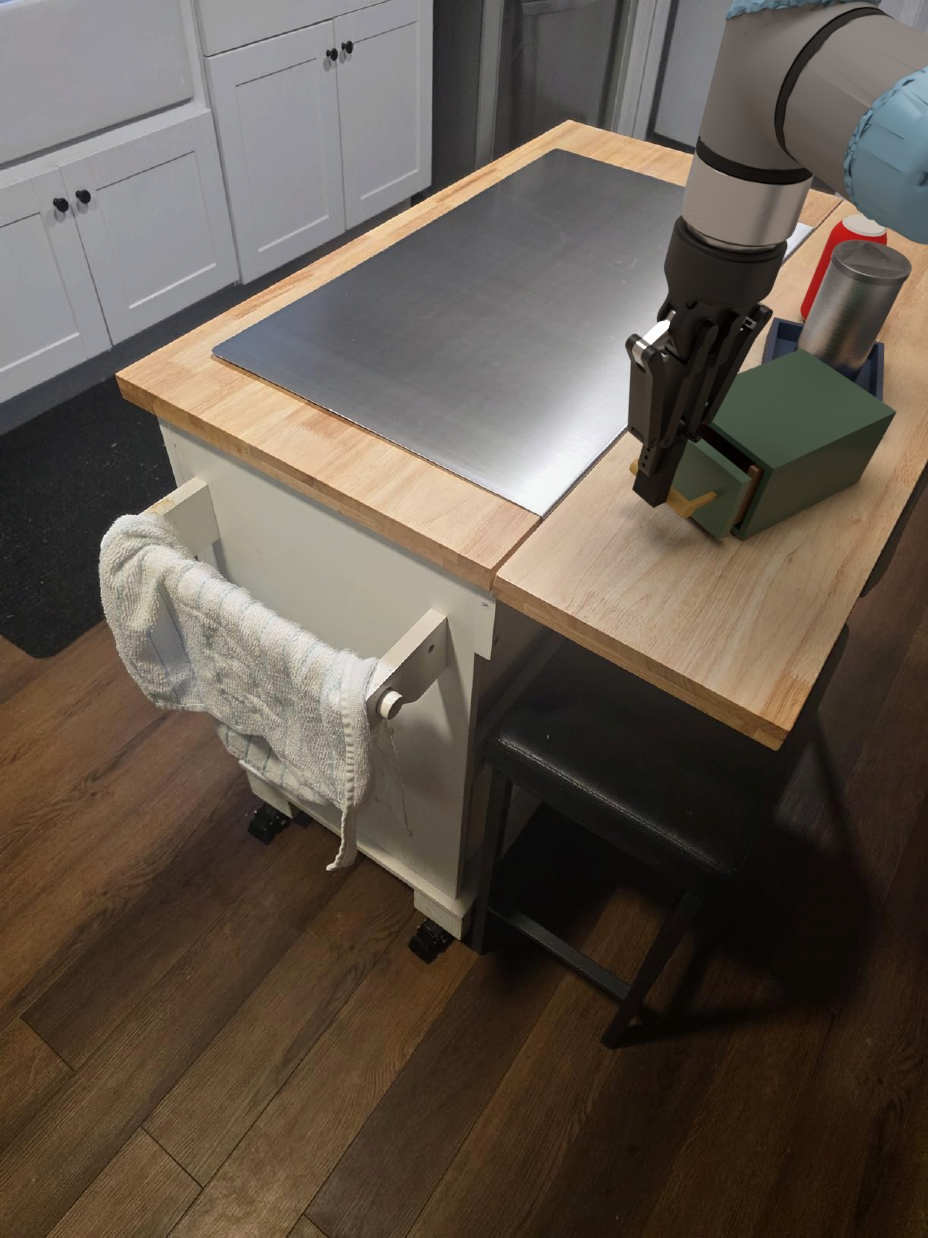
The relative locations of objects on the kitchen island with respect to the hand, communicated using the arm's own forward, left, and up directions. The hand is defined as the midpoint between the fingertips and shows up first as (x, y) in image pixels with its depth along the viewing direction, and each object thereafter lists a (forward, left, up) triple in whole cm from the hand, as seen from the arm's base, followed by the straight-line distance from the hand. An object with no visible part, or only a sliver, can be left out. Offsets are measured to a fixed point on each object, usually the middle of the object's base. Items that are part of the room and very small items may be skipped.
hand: (648, 495), depth 75 cm
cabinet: (0, -16, -4) cm, 16 cm away
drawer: (0, -11, -4) cm, 11 cm away
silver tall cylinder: (+8, -33, -4) cm, 34 cm away
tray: (+8, -33, -4) cm, 34 cm away
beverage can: (+16, -44, -5) cm, 47 cm away
